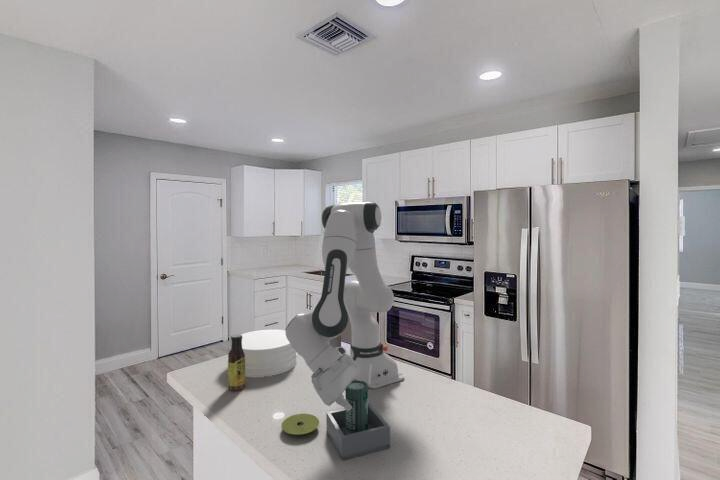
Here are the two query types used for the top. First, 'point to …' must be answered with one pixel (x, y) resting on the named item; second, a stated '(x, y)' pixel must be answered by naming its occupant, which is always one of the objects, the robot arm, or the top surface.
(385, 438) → the bin
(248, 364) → the plate stack
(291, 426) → the mat
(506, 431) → the top surface
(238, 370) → the sauce bottle
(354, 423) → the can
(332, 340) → the pillar candle
